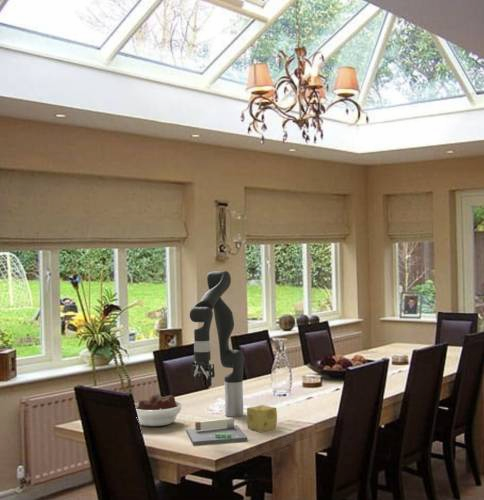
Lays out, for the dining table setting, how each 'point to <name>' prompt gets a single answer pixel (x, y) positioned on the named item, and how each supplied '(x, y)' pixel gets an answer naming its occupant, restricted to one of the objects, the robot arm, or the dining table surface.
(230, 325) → the robot arm
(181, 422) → the dining table surface
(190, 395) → the dining table surface
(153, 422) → the bowl of brownies
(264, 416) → the cheese
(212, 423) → the beige wooden bar
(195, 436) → the grey square slab
